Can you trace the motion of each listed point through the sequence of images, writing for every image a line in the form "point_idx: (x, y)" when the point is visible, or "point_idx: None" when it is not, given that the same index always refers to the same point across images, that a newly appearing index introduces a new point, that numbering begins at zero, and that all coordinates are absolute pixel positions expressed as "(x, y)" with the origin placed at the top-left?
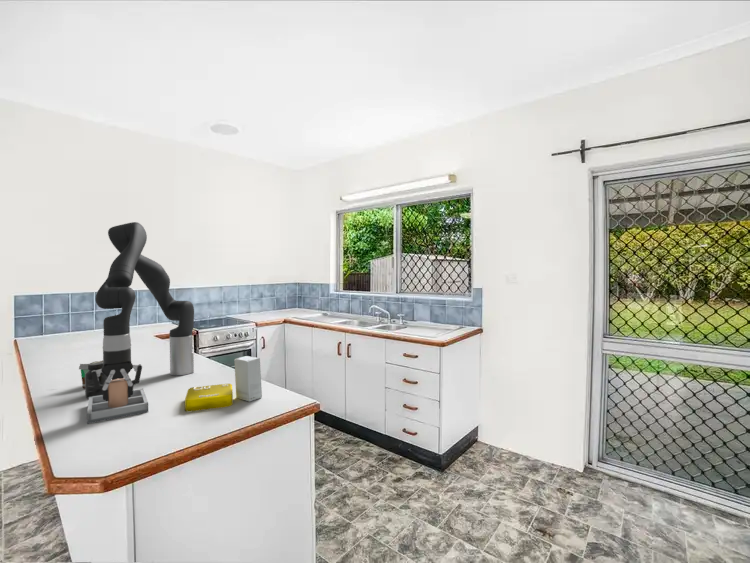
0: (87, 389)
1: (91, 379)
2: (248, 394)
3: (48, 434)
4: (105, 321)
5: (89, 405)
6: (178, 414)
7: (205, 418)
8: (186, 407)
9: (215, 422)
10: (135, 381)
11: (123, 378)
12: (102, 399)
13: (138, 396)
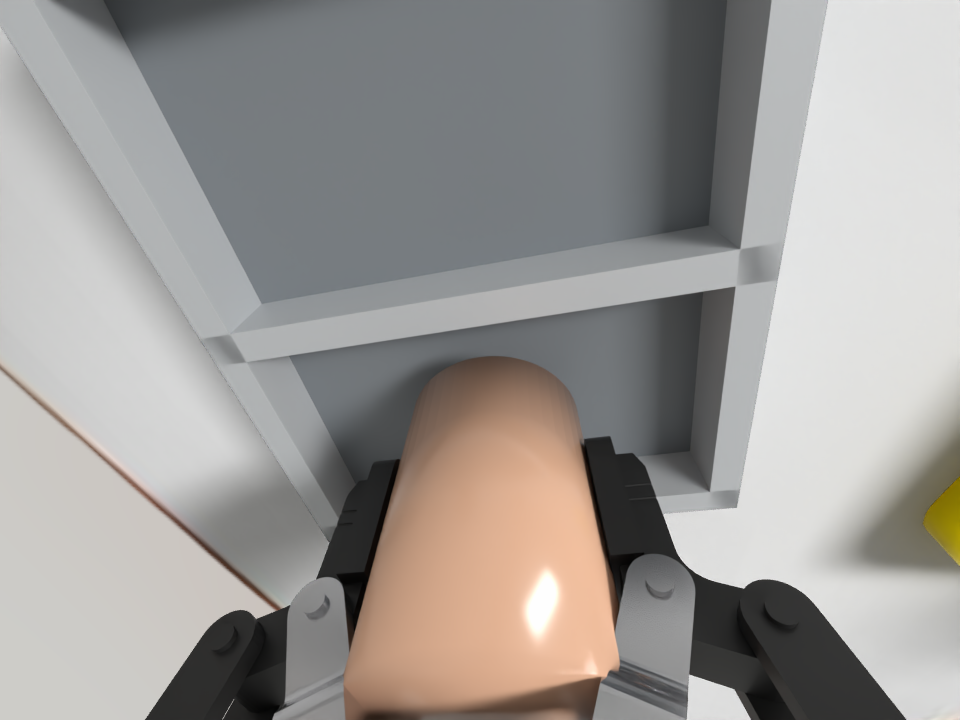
0: None
1: None
2: None
3: (217, 533)
4: None
5: (232, 370)
6: (854, 549)
7: (935, 630)
8: (947, 552)
9: (937, 669)
10: (738, 686)
11: (566, 669)
12: None
13: (692, 276)
